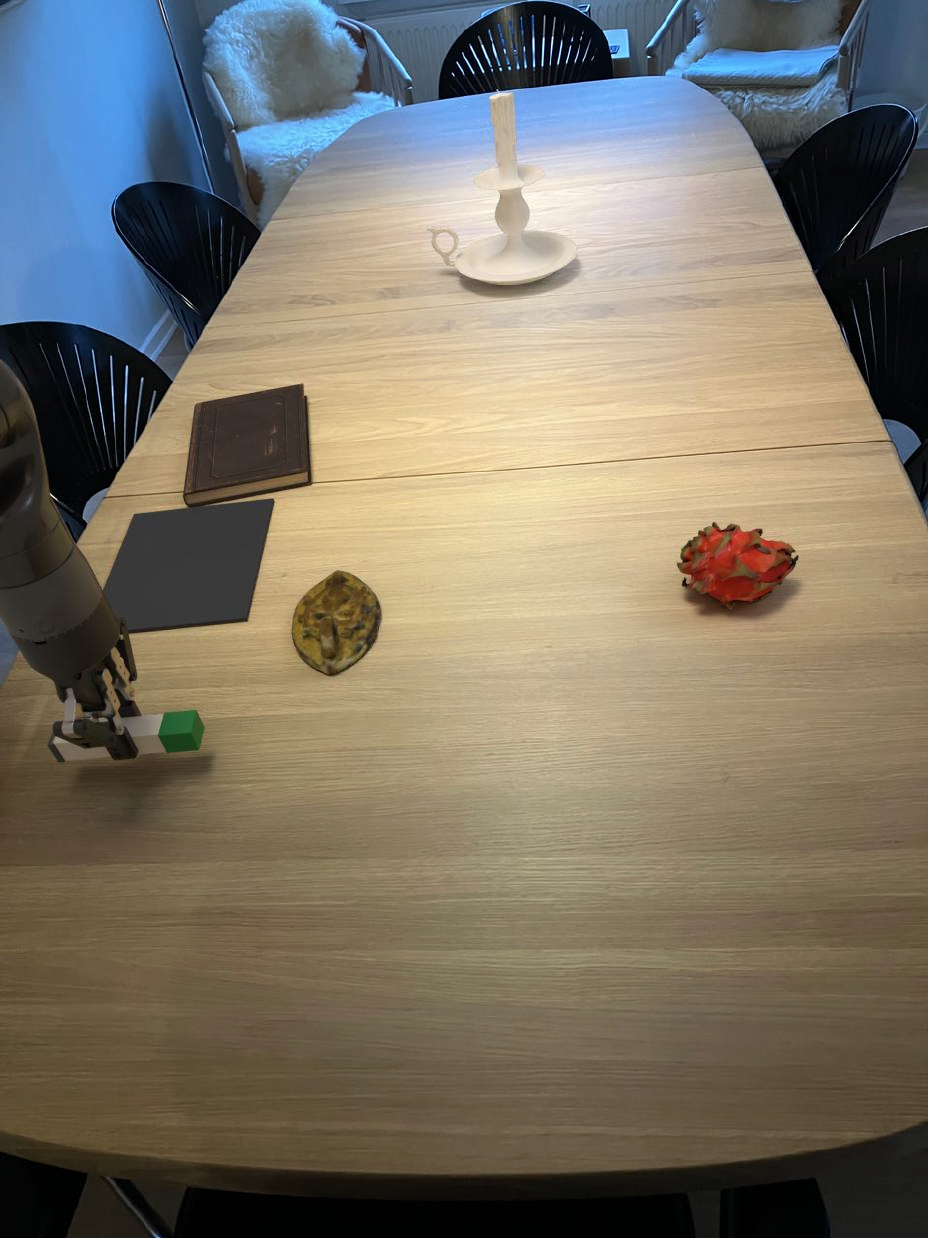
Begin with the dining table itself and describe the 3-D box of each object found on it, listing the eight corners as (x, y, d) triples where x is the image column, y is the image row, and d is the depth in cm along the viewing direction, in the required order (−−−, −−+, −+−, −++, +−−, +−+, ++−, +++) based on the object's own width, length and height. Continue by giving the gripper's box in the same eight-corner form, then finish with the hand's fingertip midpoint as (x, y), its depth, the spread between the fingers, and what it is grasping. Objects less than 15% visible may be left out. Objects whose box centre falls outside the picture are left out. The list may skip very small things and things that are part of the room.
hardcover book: (307, 397, 134) (303, 382, 132) (311, 484, 117) (307, 469, 115) (197, 417, 133) (192, 403, 132) (186, 508, 116) (180, 493, 115)
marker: (58, 763, 83) (46, 745, 81) (67, 739, 85) (56, 722, 83) (199, 750, 82) (190, 732, 80) (205, 727, 84) (196, 709, 82)
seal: (299, 592, 103) (294, 688, 92) (284, 560, 100) (276, 655, 89) (379, 572, 102) (384, 666, 91) (366, 539, 99) (369, 633, 88)
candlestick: (444, 253, 167) (420, 79, 148) (581, 244, 162) (575, 64, 143) (423, 304, 152) (393, 118, 133) (573, 296, 147) (565, 102, 128)
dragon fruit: (664, 602, 96) (779, 606, 96) (684, 612, 87) (810, 615, 87) (669, 519, 94) (785, 523, 95) (689, 521, 86) (817, 525, 86)
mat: (86, 637, 100) (84, 634, 100) (135, 516, 116) (133, 513, 116) (247, 621, 99) (246, 617, 99) (274, 501, 115) (273, 497, 115)
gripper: (34, 550, 77) (111, 690, 89) (-28, 671, 67) (68, 811, 78) (121, 542, 76) (187, 683, 88) (72, 662, 66) (154, 804, 78)
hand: (131, 743), depth 83 cm, fingers closed on marker, 2 cm apart
